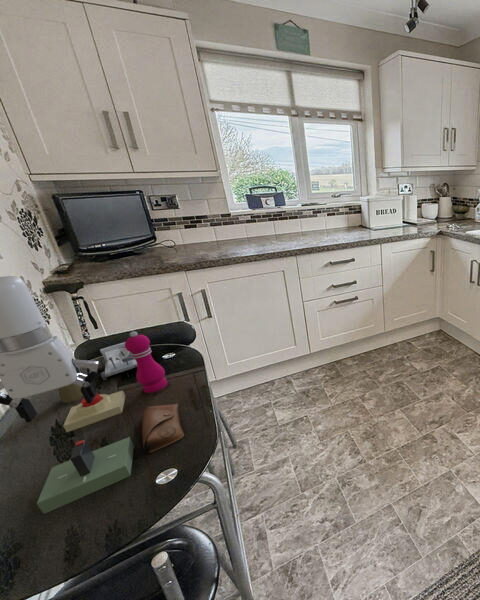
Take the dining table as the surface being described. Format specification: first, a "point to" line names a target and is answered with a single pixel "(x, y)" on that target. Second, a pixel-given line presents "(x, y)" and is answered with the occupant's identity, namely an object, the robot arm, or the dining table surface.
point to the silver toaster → (116, 360)
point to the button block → (95, 411)
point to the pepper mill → (145, 363)
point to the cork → (70, 393)
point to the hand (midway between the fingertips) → (62, 409)
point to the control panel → (87, 476)
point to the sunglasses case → (160, 427)
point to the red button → (96, 400)
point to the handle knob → (82, 457)
